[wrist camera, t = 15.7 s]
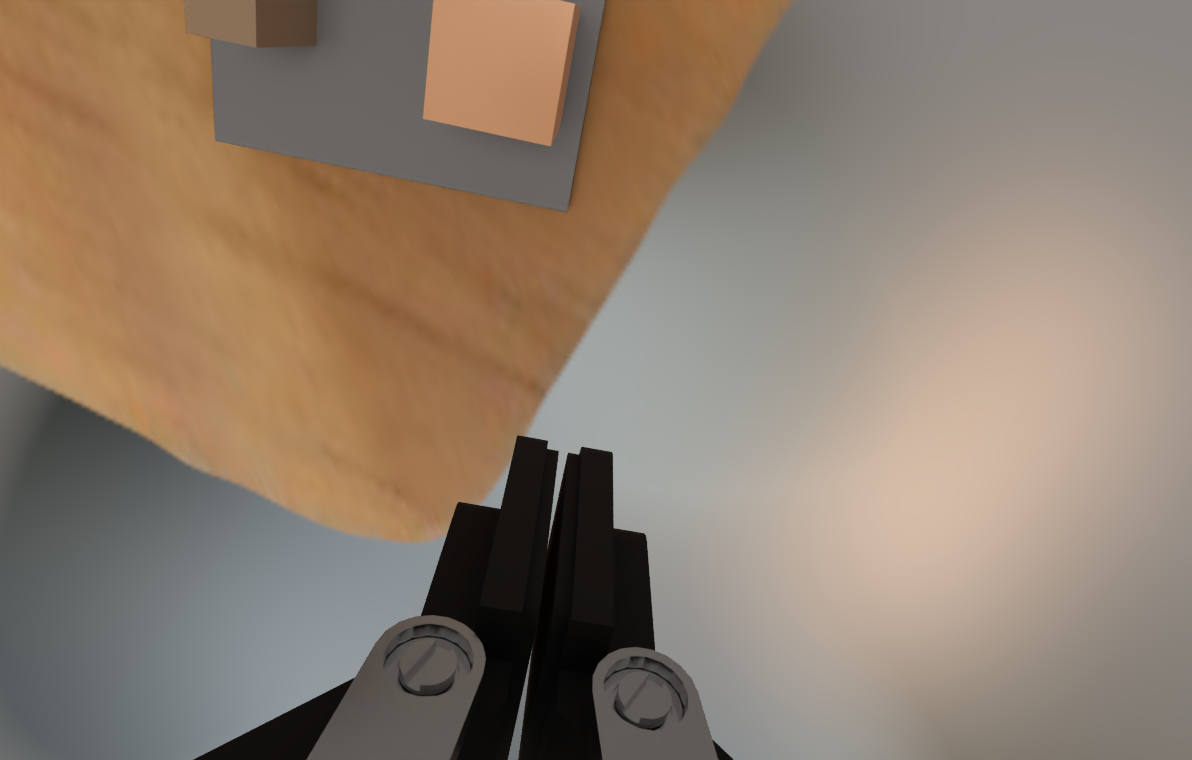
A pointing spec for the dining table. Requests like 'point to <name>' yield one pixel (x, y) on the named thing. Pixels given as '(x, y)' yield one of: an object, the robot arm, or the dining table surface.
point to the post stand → (374, 95)
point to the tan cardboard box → (501, 66)
